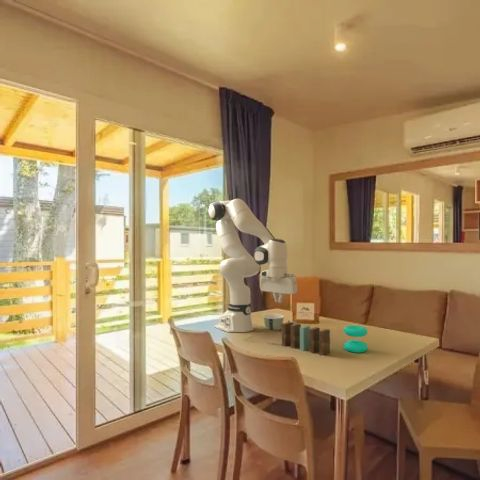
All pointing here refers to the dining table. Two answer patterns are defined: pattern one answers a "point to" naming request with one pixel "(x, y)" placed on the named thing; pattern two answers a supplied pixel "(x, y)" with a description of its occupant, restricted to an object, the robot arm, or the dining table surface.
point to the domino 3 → (304, 337)
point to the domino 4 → (314, 339)
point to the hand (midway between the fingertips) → (278, 302)
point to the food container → (273, 321)
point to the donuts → (355, 344)
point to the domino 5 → (324, 342)
